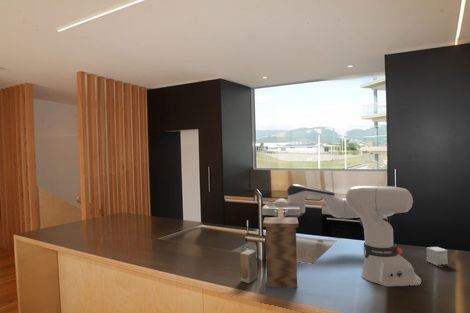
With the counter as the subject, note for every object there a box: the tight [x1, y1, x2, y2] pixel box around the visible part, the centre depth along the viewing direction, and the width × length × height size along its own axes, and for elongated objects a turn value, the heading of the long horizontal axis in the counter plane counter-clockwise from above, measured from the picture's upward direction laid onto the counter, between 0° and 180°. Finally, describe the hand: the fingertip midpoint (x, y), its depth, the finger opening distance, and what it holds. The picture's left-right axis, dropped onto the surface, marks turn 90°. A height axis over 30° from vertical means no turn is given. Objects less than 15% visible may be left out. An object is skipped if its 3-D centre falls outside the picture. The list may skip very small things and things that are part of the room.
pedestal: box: [262, 216, 299, 289], centre depth 130 cm, size 14×12×26 cm
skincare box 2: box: [426, 246, 449, 265], centre depth 147 cm, size 6×6×7 cm
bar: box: [277, 207, 283, 217], centre depth 155 cm, size 2×21×2 cm, turn 171°
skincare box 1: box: [239, 249, 258, 284], centre depth 133 cm, size 6×4×12 cm
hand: (280, 213), depth 160 cm, fingers closed on bar, 2 cm apart
